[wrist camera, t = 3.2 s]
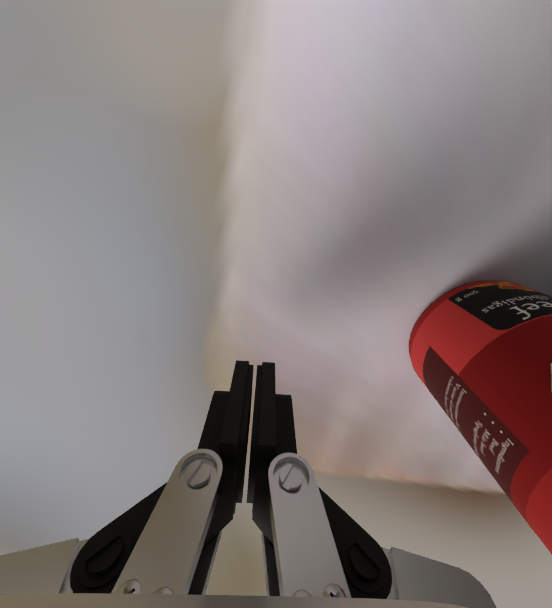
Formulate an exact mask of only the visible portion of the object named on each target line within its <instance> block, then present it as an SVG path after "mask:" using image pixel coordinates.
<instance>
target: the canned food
mask: <svg viewBox="0 0 552 608" xmlns="http://www.w3.org/2000/svg"><path fill="white" fill-rule="evenodd" d="M409 353H410V357H411V361H412V365H413V368H414V370H415V372H416V373H417V375H418V376H419V378H420V379H421V380H422V382H423V383H424V384H425V386H426V387H427V388H428V390H429V391H430V392H431V394H432V395H433V396H434V398H435V399H436V400H437V402H438V403H439V405H440V406H441V407H442V409H443V410H444V411H445V413H446V414H447V415H448V417H449V418H450V419H451V421H452V422H453V423H454V425H455V426H456V427H457V429H458V430H459V431H460V433H461V434H462V435H463V437H464V438H465V440H466V441H467V442H468V444H469V445H470V446H471V448H472V449H473V450H474V452H475V453H476V454H477V456H478V457H479V458H480V460H481V461H482V462H483V464H484V465H485V466H486V468H487V469H488V470H489V472H490V473H491V475H492V476H493V477H494V479H495V480H496V481H497V483H498V484H499V485H500V487H501V488H502V489H503V491H504V492H505V493H506V495H507V496H508V497H509V499H510V500H511V501H512V503H513V504H514V506H515V507H516V508H517V509H518V511H519V512H520V514H521V515H522V516H523V518H524V519H525V520H526V522H527V523H528V524H529V526H530V527H531V528H532V530H533V531H534V532H535V533H536V534H537V536H538V537H539V538H540V539H541V541H542V542H543V543H544V545H545V546H546V547H547V548H548V550H549V551H550V553H551V554H552V297H551V296H548V295H546V294H543V293H541V292H538V291H536V290H533V289H531V288H528V287H525V286H523V285H520V284H517V283H512V282H504V281H477V282H473V283H469V284H465V285H463V286H460V287H458V288H455V289H453V290H451V291H449V292H448V293H446V294H444V295H442V296H441V297H440V298H438V299H437V300H436V301H435V302H433V303H432V304H431V305H430V306H429V307H428V308H427V309H426V310H425V311H424V312H423V313H422V314H421V316H420V317H419V319H418V320H417V322H416V323H415V325H414V328H413V330H412V332H411V335H410V340H409Z"/></svg>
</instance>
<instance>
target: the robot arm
mask: <svg viewBox="0 0 552 608" xmlns="http://www.w3.org/2000/svg"><path fill="white" fill-rule="evenodd" d="M252 380H253V365H249V361H236V364H235V369H234V374H233V378H232V383H231V388H230V392H228V391H215V392H214V394H213V397H212V401H211V404H210V408H209V411H208V415H207V418H206V422H205V425H204V429H203V432H202V435H201V439H200V443H199V446H198V449H197V450H193V451H191V452H189V453H187V454H186V455H185V456H184V457H182V459H180V461H179V462H178V464H177V465H176V467H175V469H174V471H173V473H172V475H171V477H170V479H169V481H168V482H167V483H165V484H164V485H163V486H161V487H160V488H158V489H157V490H156V491H154V492H153V493H151V494H150V495H149V496H147V497H146V498H144V499H143V500H142V501H140V502H139V503H137V504H136V505H135V506H133V507H132V508H130V509H129V510H128V511H126V512H125V513H123V514H122V515H121V516H119V517H118V518H116V519H115V520H114V521H112V522H111V523H109V524H108V525H107V526H105V527H104V528H102V529H101V530H100V531H98V532H97V533H96V534H95V535H94V536H92V537H91V538H90V539H87V540H83V541H79V539H78V538H75V539H70V540H66V541H62V542H57V543H53V544H49V545H44V546H40V547H35V548H31V549H27V550H22V551H18V552H14V553H9V554H5V555H1V556H0V608H496V606H495V604H494V602H493V600H492V598H491V596H490V594H489V593H488V592H487V590H486V589H485V588H484V587H483V585H482V584H481V583H480V582H479V581H478V580H477V579H476V578H475V577H473V576H472V575H471V574H470V573H468V572H466V571H464V570H462V569H460V568H457V567H454V566H451V565H448V564H445V563H442V562H438V561H436V560H432V559H429V558H426V557H423V556H420V555H416V554H413V553H410V552H407V551H404V550H401V549H398V548H394V547H391V549H390V550H389V549H386V548H383V547H380V545H379V544H378V543H377V542H376V541H375V540H374V539H373V538H372V537H371V536H370V535H369V534H368V533H367V532H366V531H365V530H364V529H363V528H362V527H361V526H359V525H358V524H357V523H356V522H355V521H354V520H353V519H352V518H351V517H350V516H349V515H348V514H347V513H346V512H345V511H344V510H342V509H341V508H340V507H339V506H338V505H337V504H336V503H335V502H334V501H333V500H332V499H331V498H330V497H329V496H328V495H327V494H326V493H324V492H323V491H322V490H321V489H320V488H319V487H318V485H317V481H316V478H315V474H314V471H313V469H312V467H311V465H310V464H309V462H308V461H307V460H306V459H305V458H303V457H302V456H300V455H298V454H297V449H296V438H295V428H294V418H293V407H292V398H291V395H281V394H275V363H269V362H262V365H257V376H256V388H255V400H254V413H253V425H252V437H251V450H250V465H249V479H248V493H247V503H253V510H252V514H253V518H252V520H253V521H254V522H255V523H256V525H257V526H258V527H259V529H260V530H261V531H262V547H263V557H264V569H265V580H266V590H267V596H234V595H205V593H206V589H207V586H208V582H209V578H210V574H211V571H212V567H213V563H214V560H215V556H216V552H217V549H218V545H219V541H220V538H221V533H222V529H223V528H224V527H225V526H226V525H227V524H228V523H229V522H230V521H231V520H232V519H233V513H235V506H236V503H242V496H243V486H244V475H245V464H246V454H247V444H248V434H249V423H250V411H251V396H252Z"/></svg>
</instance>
